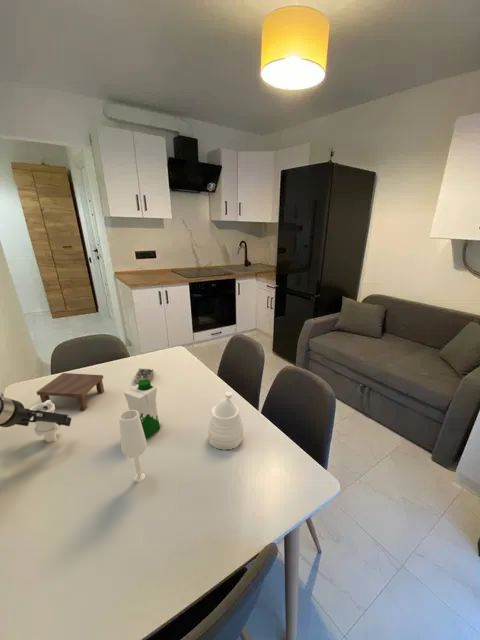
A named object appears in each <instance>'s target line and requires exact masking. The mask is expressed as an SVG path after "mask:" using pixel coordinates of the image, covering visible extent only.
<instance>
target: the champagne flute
mask: <svg viewBox="0 0 480 640" xmlns="http://www.w3.org/2000/svg"><path fill="white" fill-rule="evenodd" d="M118 418H119V434H120V448H121V453H122V454H123V455H124V456H125V457H127V458H132V459H134V465H135V471H136V475H134V477H133V480H134V481H135V482H142V481H143V480H144V479H146V474H145V473H143V472H142V470H141V463H140V458H139V457H140V456H142V455H143V454H144V452H145V451H146V450H147V447H148V441H147V439H146V438H145V434H144V431H143V427H142V424H141V420H140V417H139V413H138V411H136V410H129V409H127V410H125V411H123V412H121V413H120V414H119V417H118Z"/></svg>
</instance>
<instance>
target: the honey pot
mask: <svg viewBox="0 0 480 640" xmlns="http://www.w3.org/2000/svg"><path fill="white" fill-rule="evenodd" d="M224 396H225V398H222V399H221V400H219V402H218V403H217V404H216V405H214V406H213V407H212V409H211V410H210V413H211V417H210V420H209V422H208V425H207V441H208V440H209V441H208V444H209V445H210V444H211V445H212V446H213V448H214V447H215V448H214V449H216V448H218V449H217V450H219V449H222V450H221V451H227V450H226V449H230V450H233V449H232V448H234V449H235V447H236V448H237V446H238V445H239V444H240V443H241V442H242V443H243V441H242V440H244V423H243V421H242V418H241V416H240V412H241V411H240V408H239V406H237V405H236V404H234V402H233V401H232V400H230V399H231V398H232V397H233V392H232V391H226V392H225V393H224ZM242 443H241V444H242ZM241 444H240V445H241ZM211 445H210V446H211ZM240 445H239V446H240ZM212 446H211V447H212ZM239 446H238V447H239Z"/></svg>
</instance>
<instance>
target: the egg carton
mask: <svg viewBox="0 0 480 640" xmlns="http://www.w3.org/2000/svg"><path fill="white" fill-rule="evenodd" d="M153 377H154V369H153V368H152V369H151V368H141V367H140V368H138V370H137V372H136V374H135V375H134V377H133V378H134V381H135V383H136V385H138V382H139V381H141V380H150V383H151V384H152V380H153Z"/></svg>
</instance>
